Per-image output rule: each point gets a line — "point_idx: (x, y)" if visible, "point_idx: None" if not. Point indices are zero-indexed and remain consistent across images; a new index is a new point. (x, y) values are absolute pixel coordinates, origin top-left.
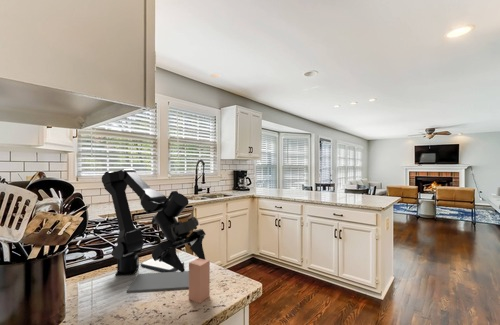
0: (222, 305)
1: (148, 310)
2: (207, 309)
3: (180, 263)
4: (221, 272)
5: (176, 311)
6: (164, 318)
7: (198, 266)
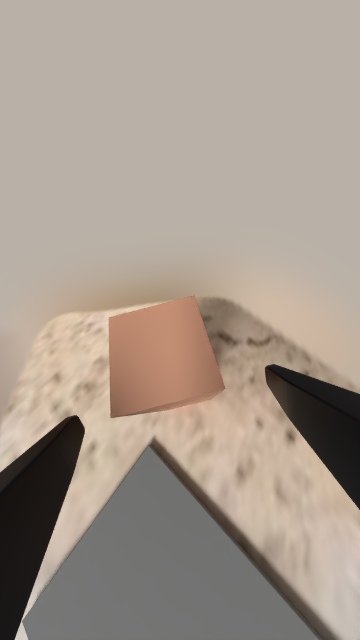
0: None
1: None
2: None
3: (319, 389)
4: None
5: None
6: (307, 361)
7: (198, 308)
